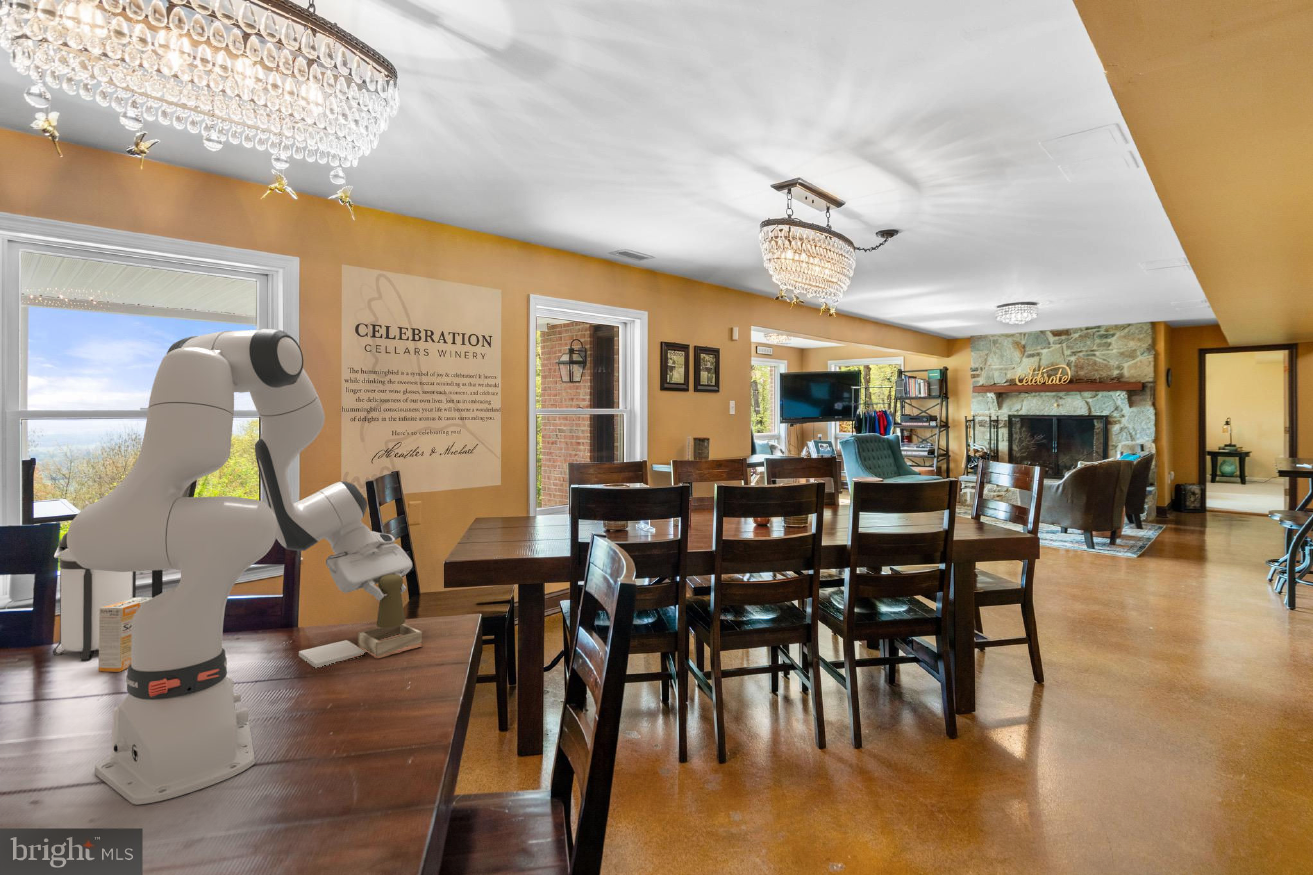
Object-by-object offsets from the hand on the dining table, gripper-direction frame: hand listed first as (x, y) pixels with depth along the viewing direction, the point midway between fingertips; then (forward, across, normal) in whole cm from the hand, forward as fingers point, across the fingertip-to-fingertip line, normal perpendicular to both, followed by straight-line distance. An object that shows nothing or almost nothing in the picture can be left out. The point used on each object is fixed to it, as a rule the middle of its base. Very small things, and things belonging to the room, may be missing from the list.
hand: (393, 594), depth 137 cm
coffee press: (-34, -20, +51) cm, 65 cm away
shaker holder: (+8, 0, +9) cm, 12 cm away
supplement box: (-23, -25, +41) cm, 53 cm away
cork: (+4, 0, +5) cm, 7 cm away
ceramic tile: (+2, -8, +15) cm, 17 cm away
